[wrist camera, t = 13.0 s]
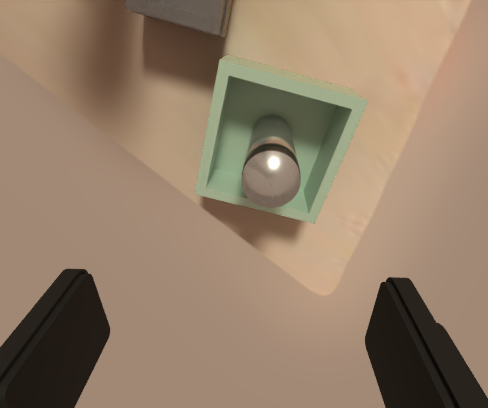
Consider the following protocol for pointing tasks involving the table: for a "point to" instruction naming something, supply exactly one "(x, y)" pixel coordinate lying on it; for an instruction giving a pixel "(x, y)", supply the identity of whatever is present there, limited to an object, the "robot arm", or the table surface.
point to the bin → (299, 118)
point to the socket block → (187, 13)
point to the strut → (271, 163)
